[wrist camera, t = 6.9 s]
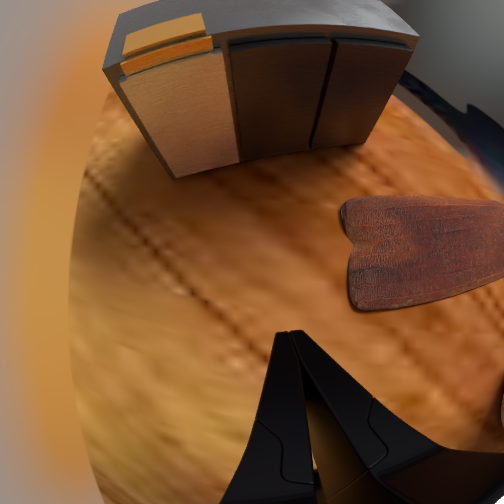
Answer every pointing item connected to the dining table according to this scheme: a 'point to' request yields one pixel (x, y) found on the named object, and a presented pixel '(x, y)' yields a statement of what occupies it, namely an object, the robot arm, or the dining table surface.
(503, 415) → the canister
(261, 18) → the small drawer cabinet
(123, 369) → the dining table surface
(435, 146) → the dining table surface
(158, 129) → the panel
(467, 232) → the wooden tablet
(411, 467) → the robot arm
